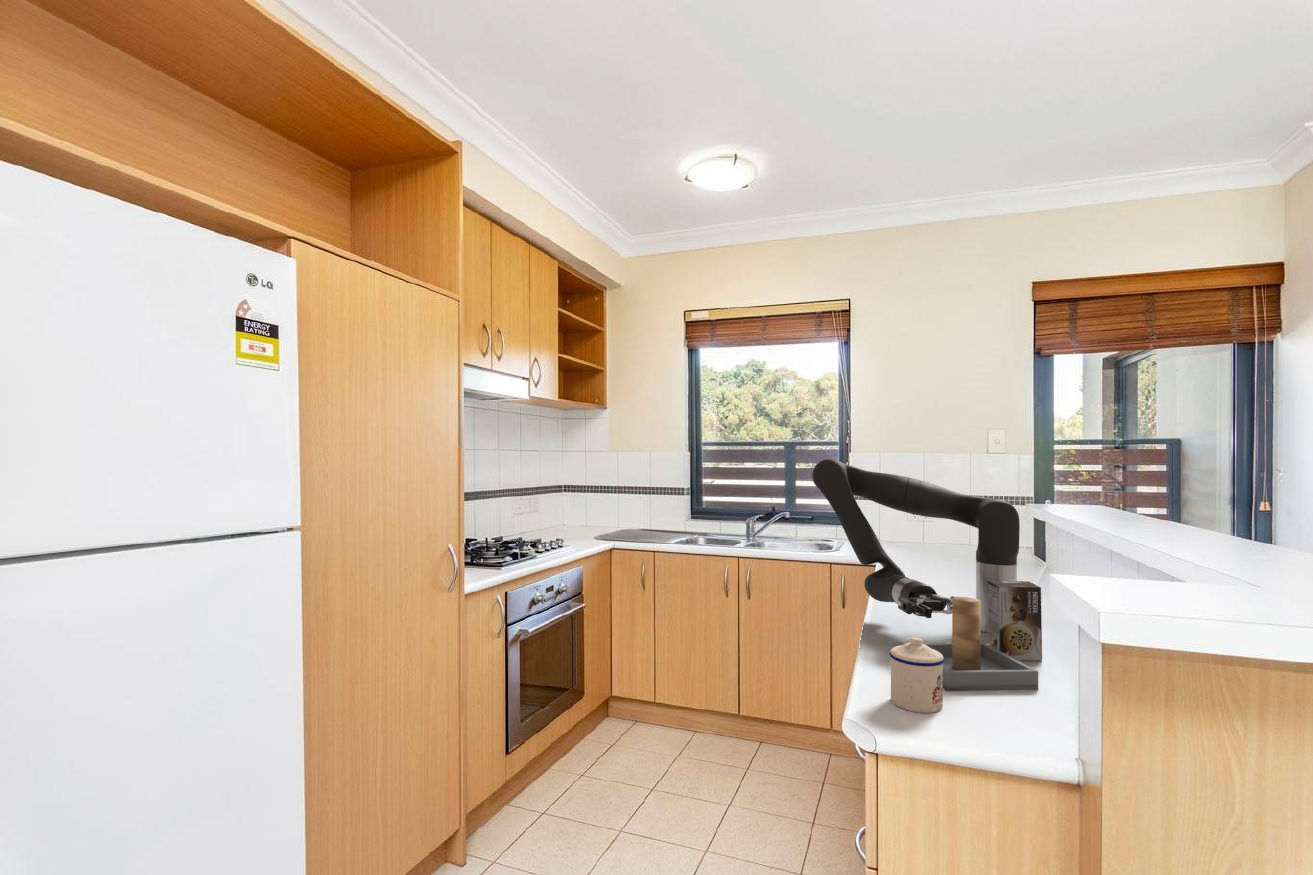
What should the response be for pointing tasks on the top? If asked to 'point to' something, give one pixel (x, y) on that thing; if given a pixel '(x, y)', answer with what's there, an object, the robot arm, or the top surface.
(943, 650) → the bin
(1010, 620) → the coffee box
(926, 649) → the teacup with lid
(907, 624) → the top surface
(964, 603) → the oak cylinder
